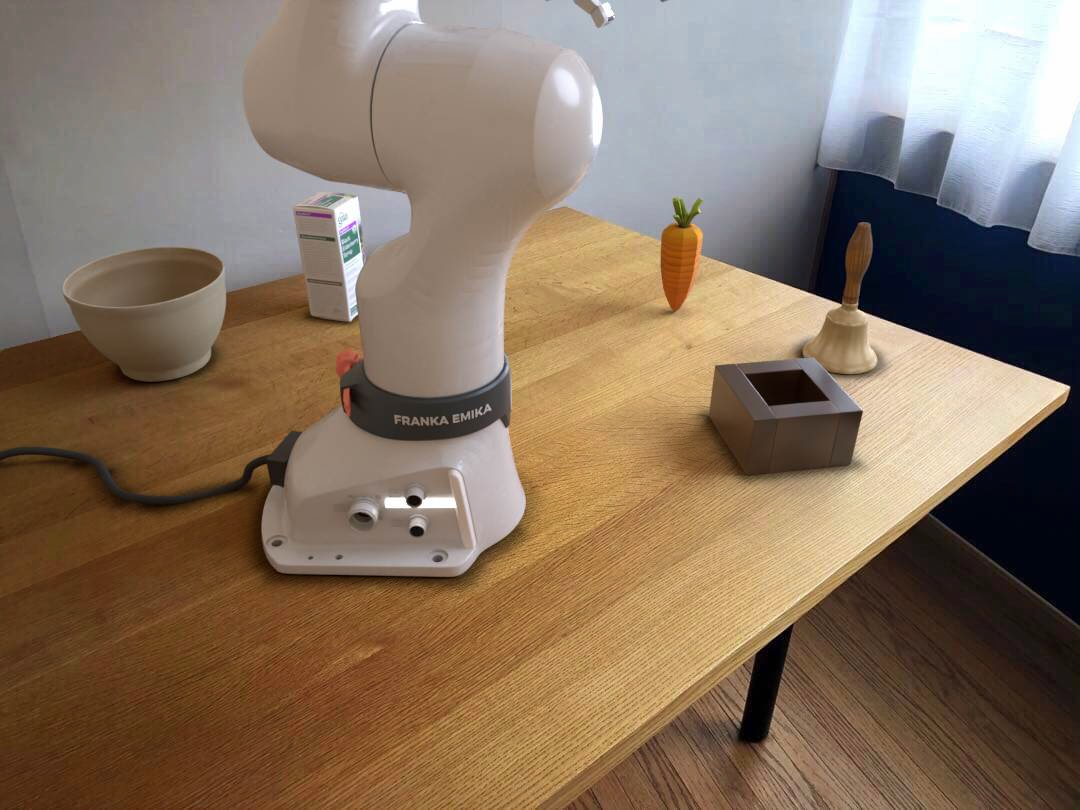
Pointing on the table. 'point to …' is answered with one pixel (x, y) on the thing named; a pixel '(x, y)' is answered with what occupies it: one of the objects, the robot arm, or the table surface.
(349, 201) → the syrup box
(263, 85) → the robot arm
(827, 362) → the hand bell
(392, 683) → the table surface
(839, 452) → the stand
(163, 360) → the planter bowl
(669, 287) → the carrot
